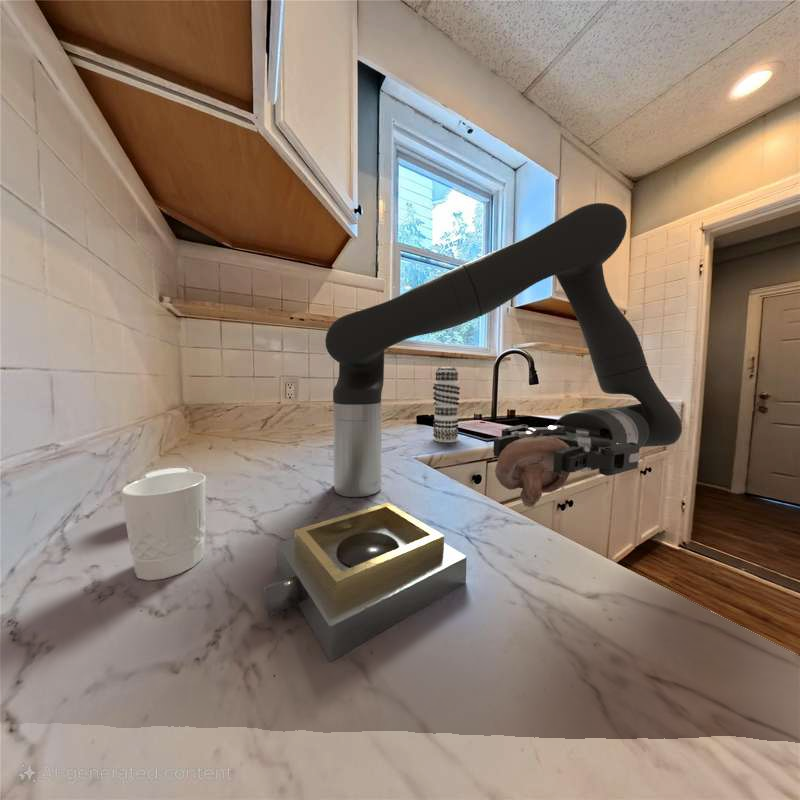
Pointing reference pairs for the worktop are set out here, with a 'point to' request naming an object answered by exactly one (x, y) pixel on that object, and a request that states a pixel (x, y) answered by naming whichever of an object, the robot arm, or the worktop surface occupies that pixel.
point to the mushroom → (530, 467)
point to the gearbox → (362, 574)
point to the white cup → (165, 523)
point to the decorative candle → (446, 405)
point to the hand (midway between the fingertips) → (525, 455)
